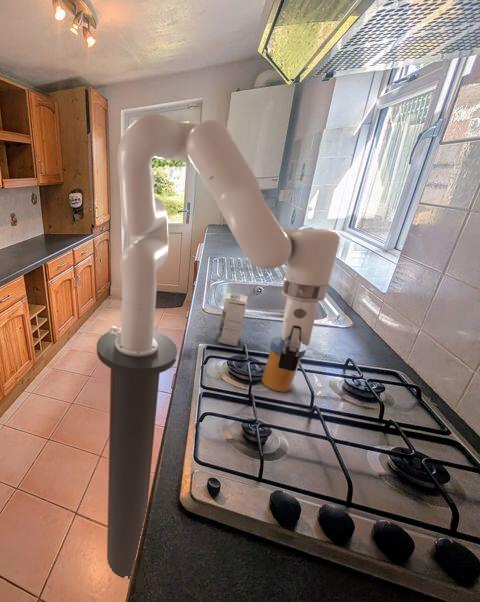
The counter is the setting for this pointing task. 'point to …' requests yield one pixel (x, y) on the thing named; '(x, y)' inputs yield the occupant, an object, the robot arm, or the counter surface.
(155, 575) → the counter surface
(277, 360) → the honey jar
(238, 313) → the syrup box
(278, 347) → the honey lid
